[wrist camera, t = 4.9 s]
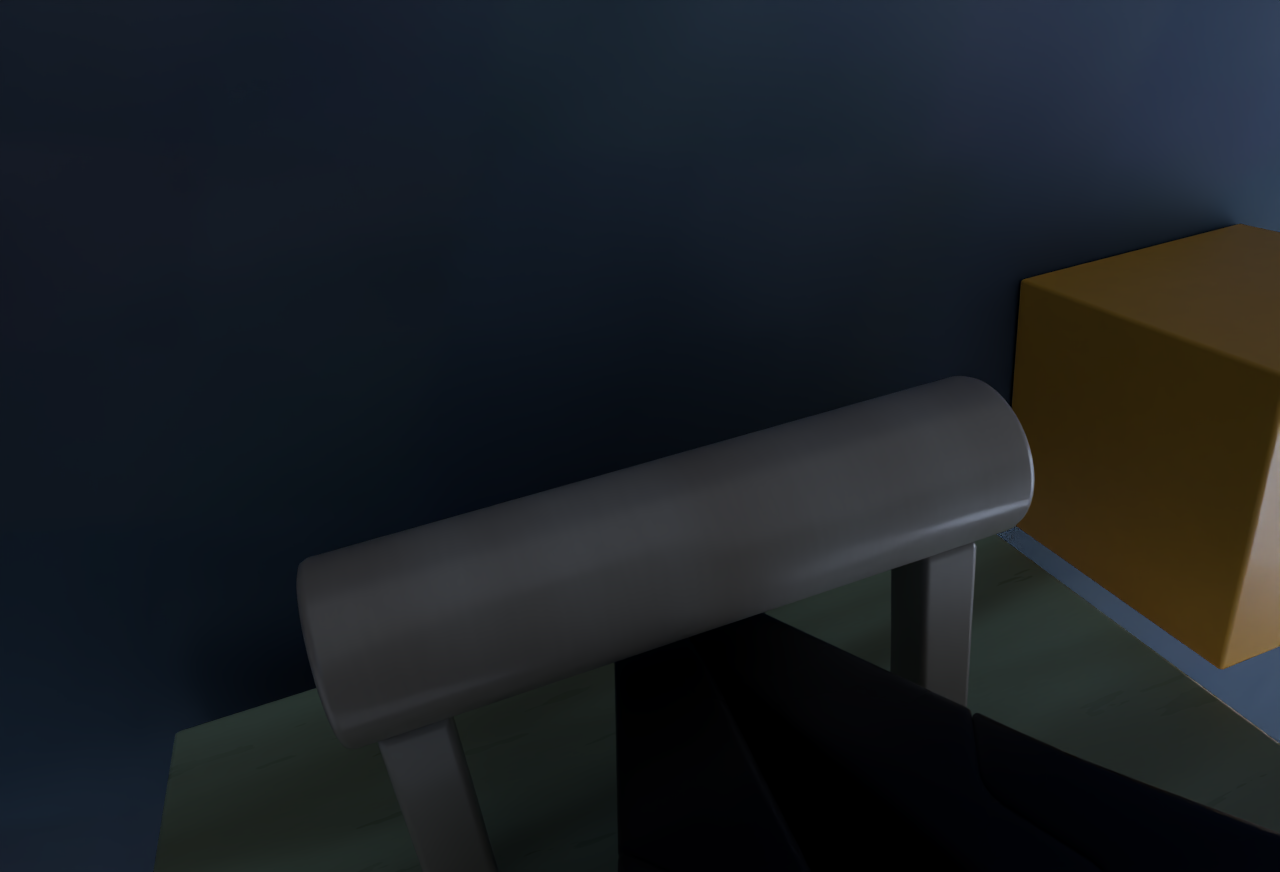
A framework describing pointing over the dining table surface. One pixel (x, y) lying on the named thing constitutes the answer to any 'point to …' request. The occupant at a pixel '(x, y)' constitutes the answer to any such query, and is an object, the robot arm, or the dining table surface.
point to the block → (1162, 432)
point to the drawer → (663, 614)
